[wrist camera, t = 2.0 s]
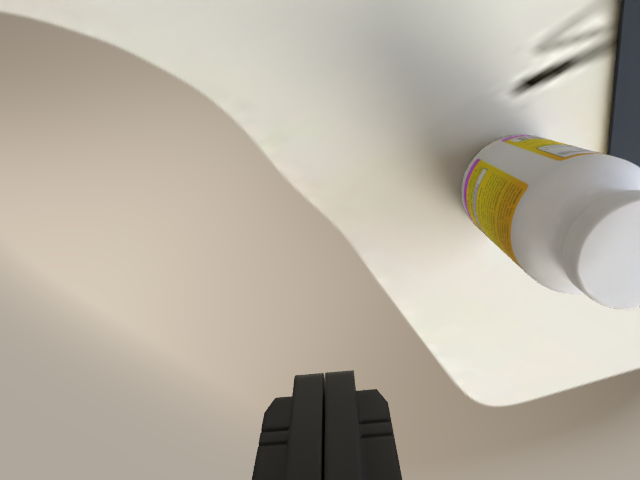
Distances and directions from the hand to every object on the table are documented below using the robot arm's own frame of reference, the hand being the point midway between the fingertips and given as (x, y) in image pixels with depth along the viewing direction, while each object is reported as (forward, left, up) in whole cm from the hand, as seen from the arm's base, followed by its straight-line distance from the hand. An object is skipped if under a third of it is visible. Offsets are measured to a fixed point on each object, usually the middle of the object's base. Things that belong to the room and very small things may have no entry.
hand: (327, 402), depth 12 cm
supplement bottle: (0, +12, -20) cm, 23 cm away
